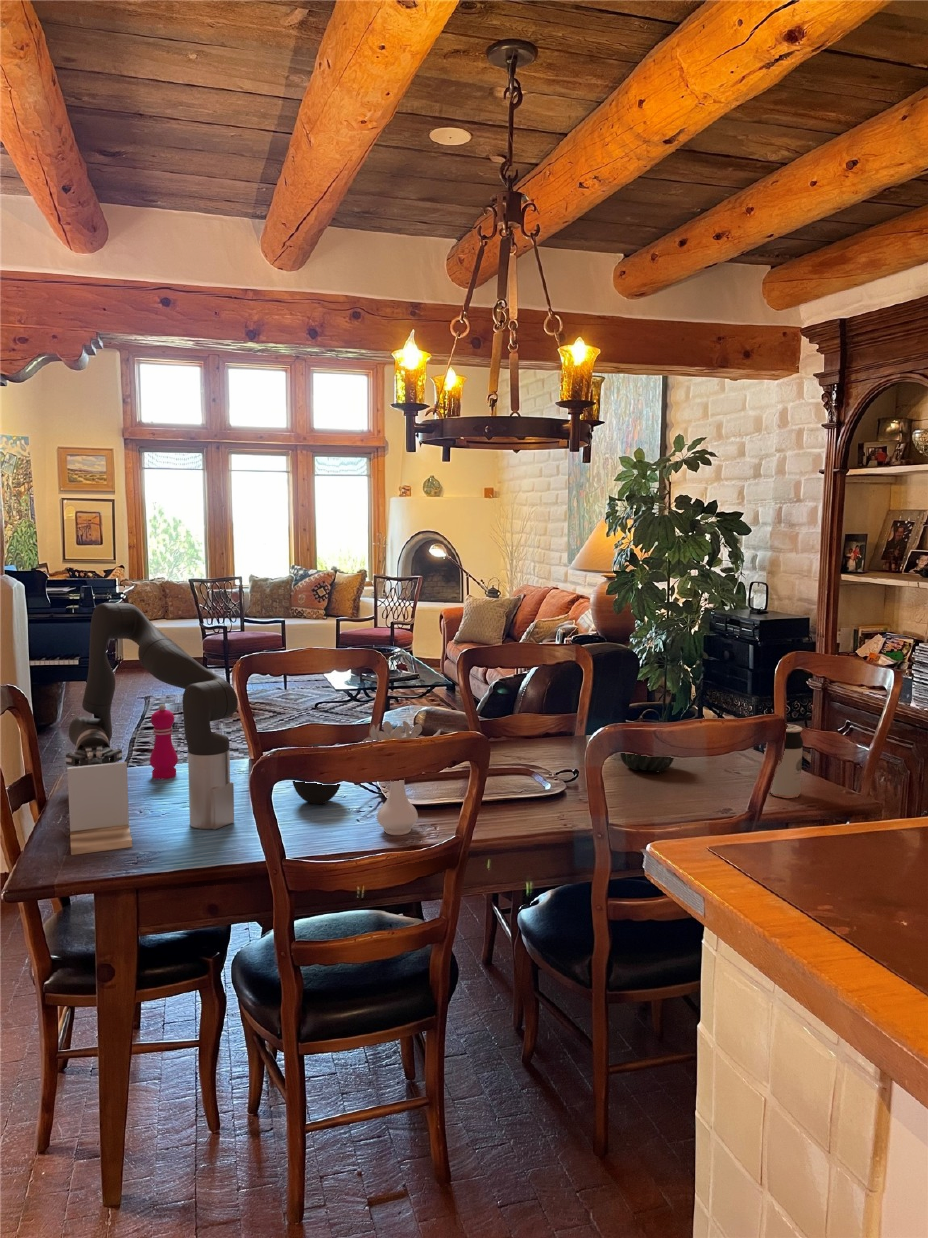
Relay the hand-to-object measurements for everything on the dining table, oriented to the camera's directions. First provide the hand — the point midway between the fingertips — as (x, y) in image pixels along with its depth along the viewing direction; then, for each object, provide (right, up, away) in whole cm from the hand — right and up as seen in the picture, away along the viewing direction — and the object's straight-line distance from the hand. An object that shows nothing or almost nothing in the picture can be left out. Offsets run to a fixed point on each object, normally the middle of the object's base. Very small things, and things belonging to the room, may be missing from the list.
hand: (95, 766), depth 200 cm
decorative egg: (+48, -12, +18) cm, 52 cm away
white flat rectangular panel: (+4, -13, -7) cm, 15 cm away
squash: (+137, -10, +51) cm, 146 cm away
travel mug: (+168, -12, +29) cm, 171 cm away
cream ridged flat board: (+3, -14, -5) cm, 16 cm away
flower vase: (+69, -15, 0) cm, 71 cm away
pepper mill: (+2, -9, +39) cm, 41 cm away
